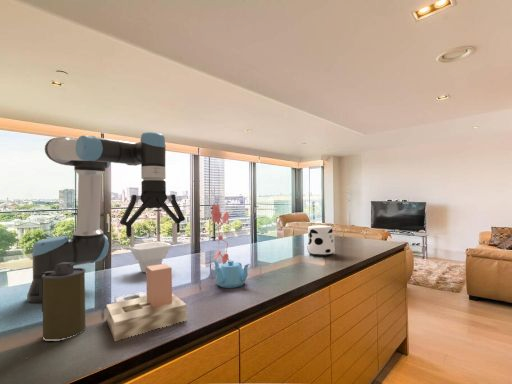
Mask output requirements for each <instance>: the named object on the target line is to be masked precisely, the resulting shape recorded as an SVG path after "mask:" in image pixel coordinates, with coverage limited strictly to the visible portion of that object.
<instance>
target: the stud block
mask: <svg viewBox="0 0 512 384" xmlns="http://www.w3.org/2000/svg"><path fill="white" fill-rule="evenodd" d="M172 270H173V269H172V267H171V266H170V265H168V264H166V263H162V264H159V265H153V266H147V267H146V272H145V273H146V294H147V301H148V302H149V304H150V305H151V306H152V307H156V306H160V305H164V304H168V303H172V293H173V281H172V280H173V278H172V277H173V273H172Z"/></svg>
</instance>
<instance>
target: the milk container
mask: <svg viewBox="0 0 512 384" xmlns="http://www.w3.org/2000/svg"><path fill="white" fill-rule="evenodd" d="M333 229H334V228H333V226H332V225H323V224H322V225H309V226H308V227H307V238H308V241H307V244H306V245H307V246H306V248H307V252H308V254H310V255H312V256H320V257H323V256H324V257H326V256H331V255H334V253H335V249H336V248H335V242H334V232H333V231H334V230H333Z"/></svg>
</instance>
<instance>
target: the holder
mask: <svg viewBox="0 0 512 384" xmlns="http://www.w3.org/2000/svg"><path fill="white" fill-rule="evenodd" d="M145 296H147V292H145V291H139V292H135V293H134V292H133V293H130V294H126V295H125V294H124V295H120V296H116V297H114V303H117V302H122V301H126V300H131V299H136V298H140V297H145Z"/></svg>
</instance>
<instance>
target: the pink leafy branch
mask: <svg viewBox="0 0 512 384" xmlns="http://www.w3.org/2000/svg"><path fill="white" fill-rule="evenodd" d="M210 214H211V216H212V218H211V220H210V221H209V223H211V222H212V221H213V224H217V225H218V226H217V231H218V238H217V239H218V241H217V242H218V244H220V241H223V242H225V243H226V247H228V246H229V243H228V242H227V241H226V240H224V239H223V235H220V229H219V228H220V227H221V226H222V225H224V224H225V225H230V221H229V218H230V214H229V212H228V211H226V212H224V214H223V215H222V212H220V205H219V204H218V203H216V204H215V203H212V209H211V211H210ZM225 249H226V250H225V253H224V254H223V256H222V253H221V252H222V251H221V250H218V252H217V253H216V255H215V257H214V258H213V259H214V260H216V261H217V259H219V258H221V260H222V261H221V262H222V265H223V264H225V263H228V261H231V260H230V259H229V254H228V253H227V252H228V248H225ZM207 267H208V268H210V266H209V265H208V266H207Z"/></svg>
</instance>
